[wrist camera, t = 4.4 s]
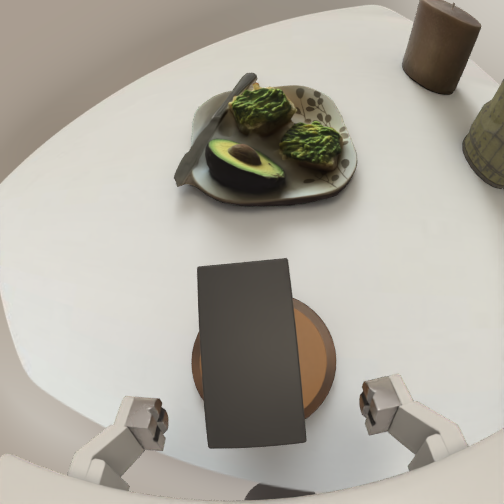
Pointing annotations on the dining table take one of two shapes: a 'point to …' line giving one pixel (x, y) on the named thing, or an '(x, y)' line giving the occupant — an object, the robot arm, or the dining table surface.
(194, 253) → the dining table surface
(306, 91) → the salad plate
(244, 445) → the slab on wooden base
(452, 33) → the pillar candle
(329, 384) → the swivel stand
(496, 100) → the thermos
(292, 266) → the dining table surface
